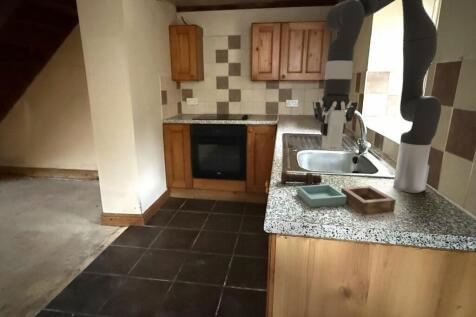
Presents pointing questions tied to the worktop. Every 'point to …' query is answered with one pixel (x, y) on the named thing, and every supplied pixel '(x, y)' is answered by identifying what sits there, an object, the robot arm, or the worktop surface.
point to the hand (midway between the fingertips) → (331, 135)
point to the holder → (367, 207)
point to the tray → (321, 196)
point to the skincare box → (334, 131)
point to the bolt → (300, 178)
